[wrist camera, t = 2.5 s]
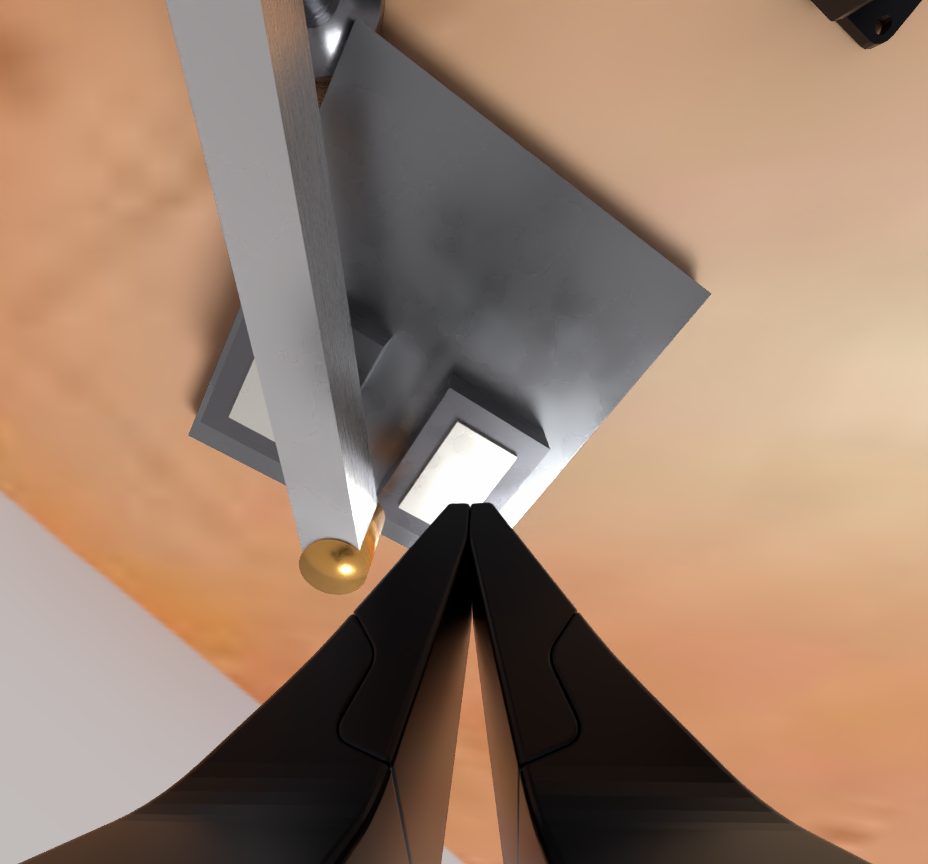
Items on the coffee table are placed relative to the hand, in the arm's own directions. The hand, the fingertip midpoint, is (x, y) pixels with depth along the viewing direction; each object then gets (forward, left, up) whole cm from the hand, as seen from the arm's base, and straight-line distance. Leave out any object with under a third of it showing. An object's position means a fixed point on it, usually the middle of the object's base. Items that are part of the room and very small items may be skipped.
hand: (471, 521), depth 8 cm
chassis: (+1, -2, -12) cm, 12 cm away
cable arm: (+1, -6, -8) cm, 10 cm away
